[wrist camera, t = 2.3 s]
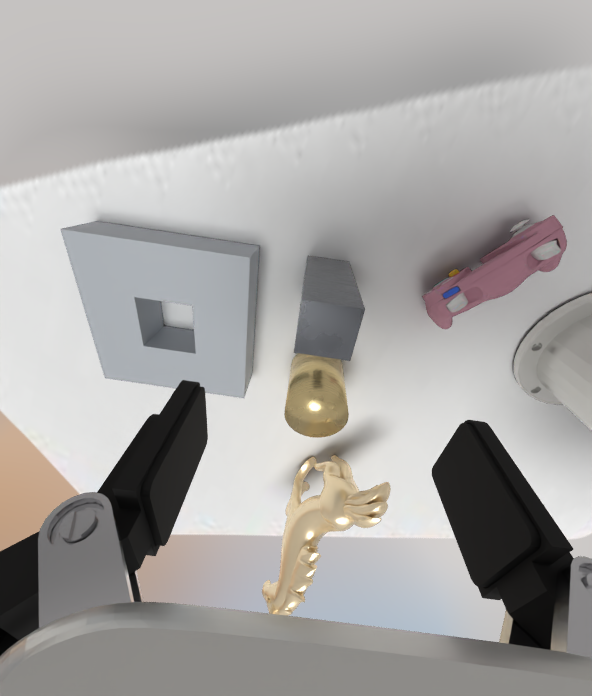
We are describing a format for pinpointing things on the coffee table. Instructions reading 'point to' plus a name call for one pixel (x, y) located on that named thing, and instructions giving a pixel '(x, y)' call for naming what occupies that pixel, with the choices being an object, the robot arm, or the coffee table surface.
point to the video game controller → (498, 270)
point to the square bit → (328, 310)
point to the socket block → (169, 286)
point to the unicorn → (319, 527)
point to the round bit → (316, 396)
